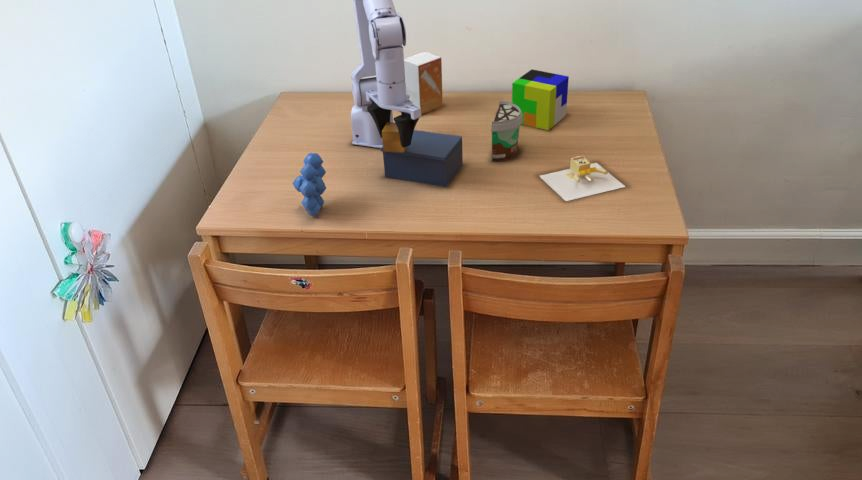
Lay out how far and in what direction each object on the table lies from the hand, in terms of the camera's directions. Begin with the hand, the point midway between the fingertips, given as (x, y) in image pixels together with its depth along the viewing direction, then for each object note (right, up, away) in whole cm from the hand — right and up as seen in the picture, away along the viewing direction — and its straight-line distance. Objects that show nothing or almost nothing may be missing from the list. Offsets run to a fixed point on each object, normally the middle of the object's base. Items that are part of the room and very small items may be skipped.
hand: (395, 141), depth 160 cm
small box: (+5, +16, +37) cm, 40 cm away
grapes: (-17, -15, -2) cm, 23 cm away
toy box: (+6, -5, +9) cm, 12 cm away
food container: (+25, 0, +15) cm, 29 cm away
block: (0, -1, +1) cm, 1 cm away
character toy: (+40, -8, +3) cm, 41 cm away
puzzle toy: (+34, +11, +29) cm, 46 cm away
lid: (+5, 0, +5) cm, 7 cm away
